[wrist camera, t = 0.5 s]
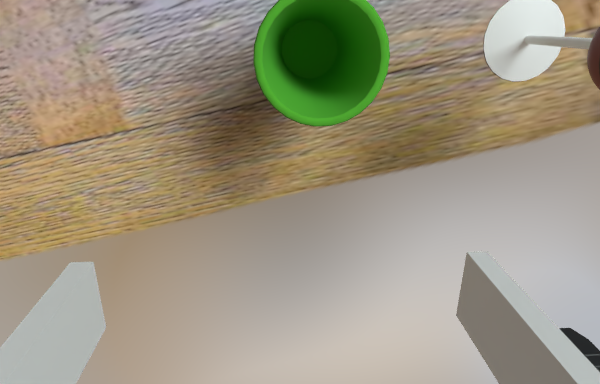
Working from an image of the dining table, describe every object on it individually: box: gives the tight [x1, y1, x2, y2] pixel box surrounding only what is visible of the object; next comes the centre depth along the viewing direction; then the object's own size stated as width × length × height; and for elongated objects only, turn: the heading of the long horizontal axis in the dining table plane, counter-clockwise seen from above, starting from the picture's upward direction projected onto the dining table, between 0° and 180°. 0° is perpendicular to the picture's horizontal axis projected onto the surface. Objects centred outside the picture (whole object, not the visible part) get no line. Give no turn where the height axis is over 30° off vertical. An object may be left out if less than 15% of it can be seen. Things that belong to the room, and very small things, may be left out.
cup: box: [254, 0, 390, 126], centre depth 34 cm, size 9×9×11 cm
